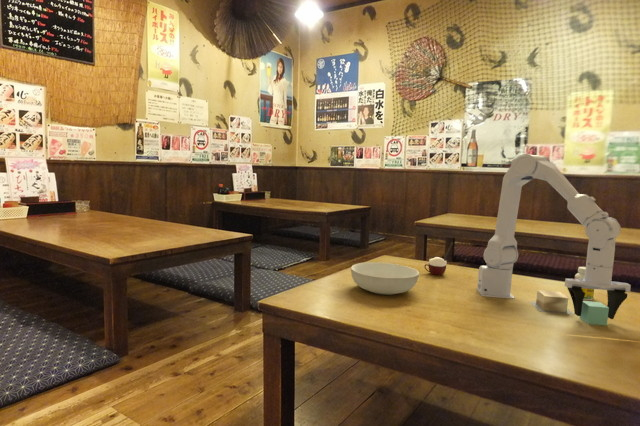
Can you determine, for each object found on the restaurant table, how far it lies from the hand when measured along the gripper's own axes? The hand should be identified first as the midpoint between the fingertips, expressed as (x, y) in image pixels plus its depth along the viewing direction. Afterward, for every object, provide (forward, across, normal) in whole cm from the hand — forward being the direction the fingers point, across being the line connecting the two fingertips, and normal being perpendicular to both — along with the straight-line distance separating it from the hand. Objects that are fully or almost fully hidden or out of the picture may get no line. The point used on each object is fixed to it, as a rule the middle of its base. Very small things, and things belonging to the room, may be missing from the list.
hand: (593, 316), depth 108 cm
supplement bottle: (+2, +7, +23) cm, 24 cm away
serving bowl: (+2, -54, +13) cm, 56 cm away
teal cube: (+2, 0, 0) cm, 2 cm away
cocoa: (+2, -35, +40) cm, 53 cm away
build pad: (+2, -7, +9) cm, 12 cm away
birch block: (+1, -7, +9) cm, 11 cm away
